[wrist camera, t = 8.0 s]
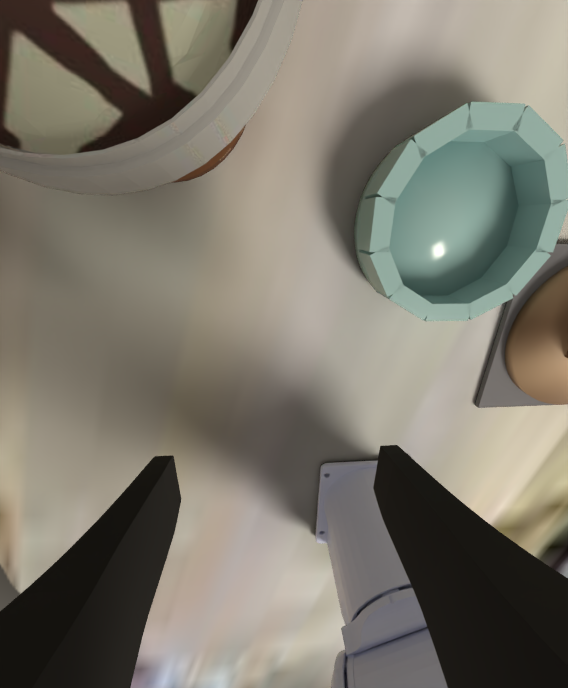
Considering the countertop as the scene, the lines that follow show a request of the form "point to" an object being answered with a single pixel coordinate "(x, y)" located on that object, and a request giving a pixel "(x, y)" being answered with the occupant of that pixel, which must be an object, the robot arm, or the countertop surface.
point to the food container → (132, 87)
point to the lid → (541, 343)
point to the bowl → (463, 211)
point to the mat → (496, 378)
